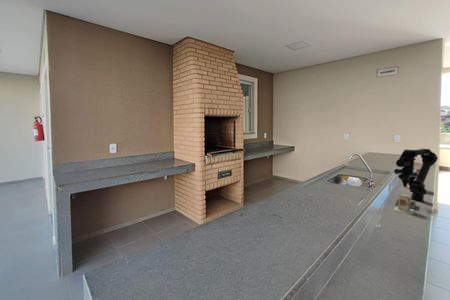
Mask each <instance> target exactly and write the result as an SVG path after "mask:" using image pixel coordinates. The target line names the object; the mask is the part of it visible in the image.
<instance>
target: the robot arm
mask: <svg viewBox="0 0 450 300" xmlns="http://www.w3.org/2000/svg"><path fill="white" fill-rule="evenodd" d="M418 156H420V158H421V162H422V165H421V167H420V168H421V169H420V172H419V174H417V173H416V172H413V169H415V168H414V167H415V166H414V165H415V161H416V158H417V157H418ZM438 160H439V159H438V156H437V154H436V153H435V152H433V151H431V149H430V148H420V149H403V151H402V153H401V155H400V156H399V158H398V159H397V160H396V162H395V164H396V166H397V167H398V168H395V169H394V170H393V173H394V174H395V175H398V176H397V177H398V178H399V180H401V182H402V185H403V188H406V186H407V184H409V188H410V189H409V192H410V193H412V194H411V195H410V196H411V200H410V201H413V202H419V203H420V202H421V203H425V202H426V201H425V200H424V197H425V196H426V194H428V193H427V192H428V191H427V189H426V188H425V187H426V185H425V180H426V178H427V175H428V174H429V171H430V169H431V167H432V166H434V165H435V164H436V163H437V161H438ZM417 175H418V176H417ZM414 176H415V177H414ZM416 177H417V178H416ZM415 178H416V180H415ZM414 180H415V181H414Z"/></svg>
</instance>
